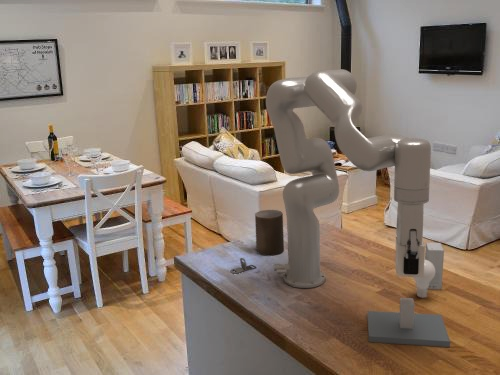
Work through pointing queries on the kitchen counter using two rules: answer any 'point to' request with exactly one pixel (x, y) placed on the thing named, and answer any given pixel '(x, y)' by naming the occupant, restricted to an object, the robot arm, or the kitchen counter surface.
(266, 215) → the pillar candle
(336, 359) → the kitchen counter surface
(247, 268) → the strap clip
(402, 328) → the post board
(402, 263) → the cream block
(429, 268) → the lightbulb
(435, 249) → the skincare box
